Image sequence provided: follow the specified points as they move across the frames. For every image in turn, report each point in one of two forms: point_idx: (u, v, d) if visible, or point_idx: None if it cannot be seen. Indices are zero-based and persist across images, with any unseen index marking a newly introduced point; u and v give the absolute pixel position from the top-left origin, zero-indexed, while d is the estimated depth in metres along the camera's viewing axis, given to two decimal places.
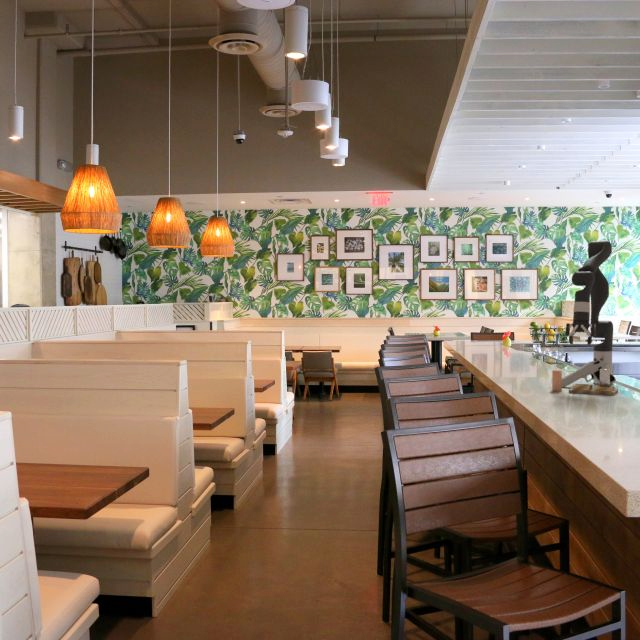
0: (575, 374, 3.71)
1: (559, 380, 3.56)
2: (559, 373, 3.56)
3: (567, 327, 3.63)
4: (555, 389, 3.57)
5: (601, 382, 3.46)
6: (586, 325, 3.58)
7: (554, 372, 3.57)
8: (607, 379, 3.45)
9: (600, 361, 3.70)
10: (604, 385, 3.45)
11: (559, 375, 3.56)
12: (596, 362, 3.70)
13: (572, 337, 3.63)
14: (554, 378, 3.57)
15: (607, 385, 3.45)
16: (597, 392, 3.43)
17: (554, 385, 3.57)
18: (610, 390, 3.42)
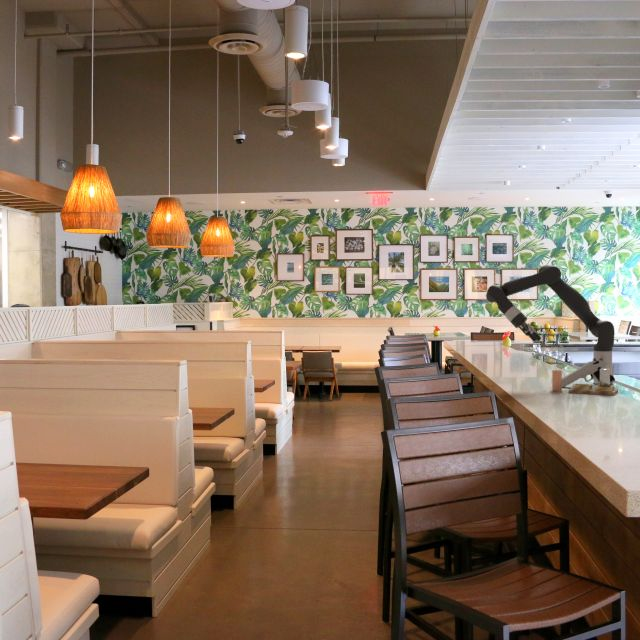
0: (574, 374, 3.71)
1: (559, 380, 3.56)
2: (559, 373, 3.56)
3: None
4: (555, 389, 3.57)
5: (601, 382, 3.46)
6: None
7: (554, 372, 3.57)
8: (607, 379, 3.45)
9: (599, 361, 3.70)
10: (604, 385, 3.45)
11: (559, 375, 3.56)
12: (595, 362, 3.70)
13: (535, 334, 3.74)
14: (554, 378, 3.57)
15: (607, 385, 3.45)
16: (597, 392, 3.43)
17: (554, 385, 3.57)
18: (610, 390, 3.42)
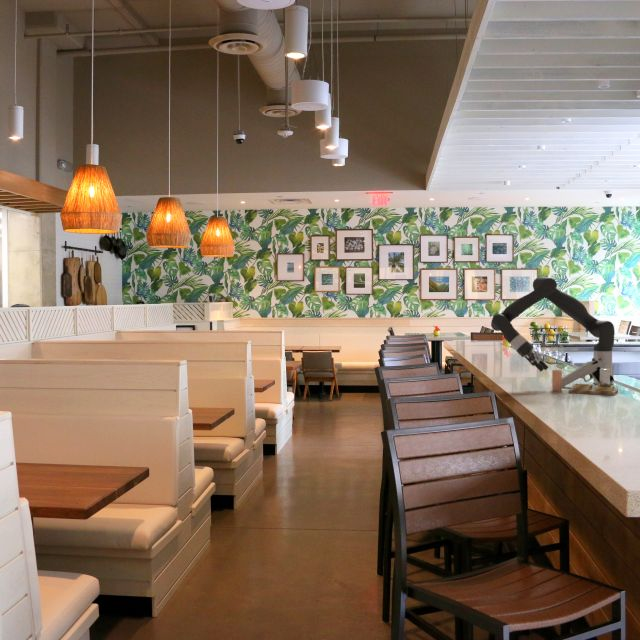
0: (573, 374, 3.71)
1: (559, 380, 3.56)
2: (559, 373, 3.56)
3: None
4: (555, 389, 3.57)
5: (601, 382, 3.46)
6: None
7: (554, 372, 3.57)
8: (607, 379, 3.45)
9: (598, 361, 3.70)
10: (604, 385, 3.45)
11: (559, 375, 3.56)
12: (594, 362, 3.70)
13: (541, 363, 3.66)
14: (554, 378, 3.57)
15: (607, 385, 3.45)
16: (597, 392, 3.43)
17: (554, 385, 3.57)
18: (610, 390, 3.42)
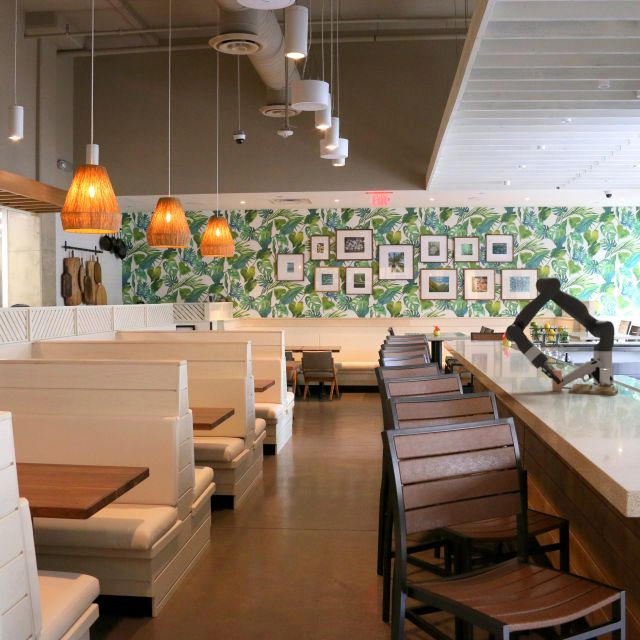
0: (572, 374, 3.71)
1: None
2: (559, 373, 3.56)
3: None
4: (555, 389, 3.57)
5: (601, 382, 3.46)
6: None
7: (554, 372, 3.57)
8: (607, 379, 3.45)
9: (597, 361, 3.70)
10: (604, 385, 3.45)
11: (559, 375, 3.56)
12: (593, 362, 3.70)
13: None
14: None
15: (607, 385, 3.45)
16: (597, 392, 3.43)
17: (554, 385, 3.57)
18: (610, 390, 3.42)
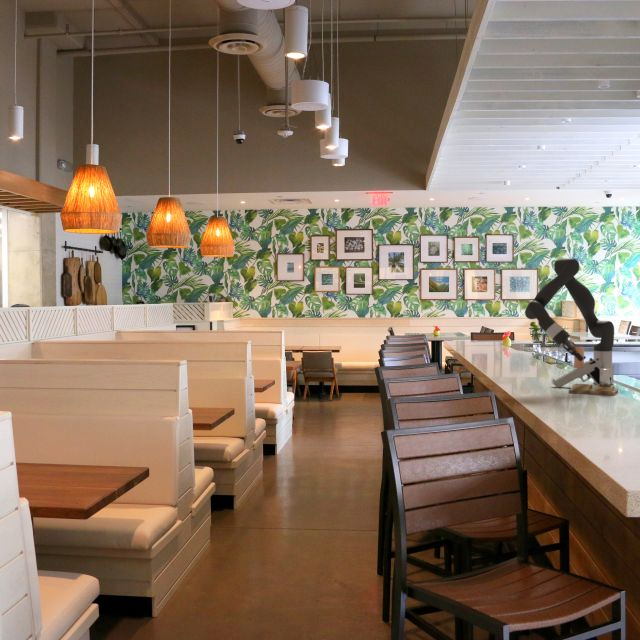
0: (571, 374, 3.72)
1: None
2: (581, 350, 3.51)
3: None
4: (577, 366, 3.52)
5: (601, 382, 3.46)
6: None
7: (576, 349, 3.52)
8: (607, 379, 3.45)
9: (596, 361, 3.70)
10: (604, 385, 3.45)
11: (581, 352, 3.51)
12: (592, 362, 3.70)
13: None
14: None
15: (607, 385, 3.45)
16: (597, 392, 3.43)
17: (576, 362, 3.52)
18: (610, 390, 3.42)
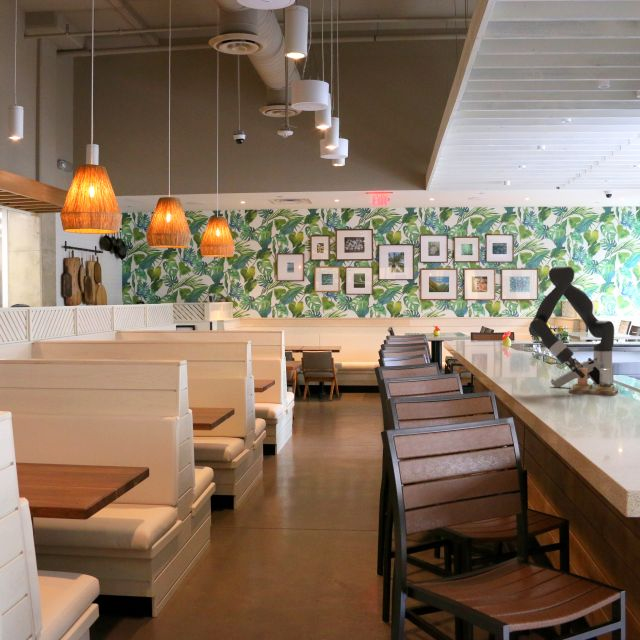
0: (570, 374, 3.72)
1: (585, 378, 3.50)
2: (585, 371, 3.50)
3: None
4: None
5: (601, 382, 3.46)
6: None
7: None
8: (607, 379, 3.45)
9: (595, 361, 3.71)
10: (604, 385, 3.45)
11: (585, 373, 3.50)
12: (591, 362, 3.71)
13: None
14: None
15: (607, 385, 3.45)
16: (597, 392, 3.43)
17: (580, 383, 3.51)
18: (610, 390, 3.42)
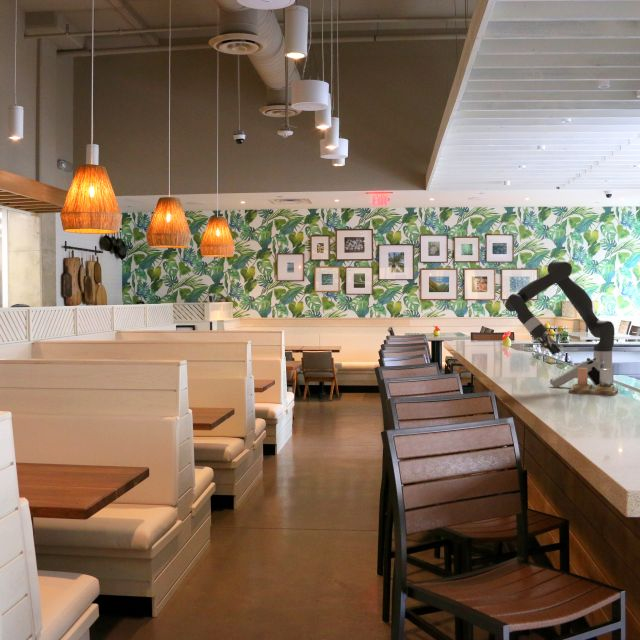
0: (569, 374, 3.72)
1: (585, 378, 3.50)
2: (585, 371, 3.50)
3: None
4: None
5: (601, 382, 3.46)
6: None
7: (580, 370, 3.51)
8: (607, 379, 3.45)
9: (593, 361, 3.71)
10: (604, 385, 3.45)
11: (585, 373, 3.50)
12: (589, 362, 3.71)
13: (554, 346, 3.65)
14: (580, 376, 3.51)
15: (607, 385, 3.45)
16: (597, 392, 3.43)
17: (580, 383, 3.51)
18: (610, 390, 3.42)
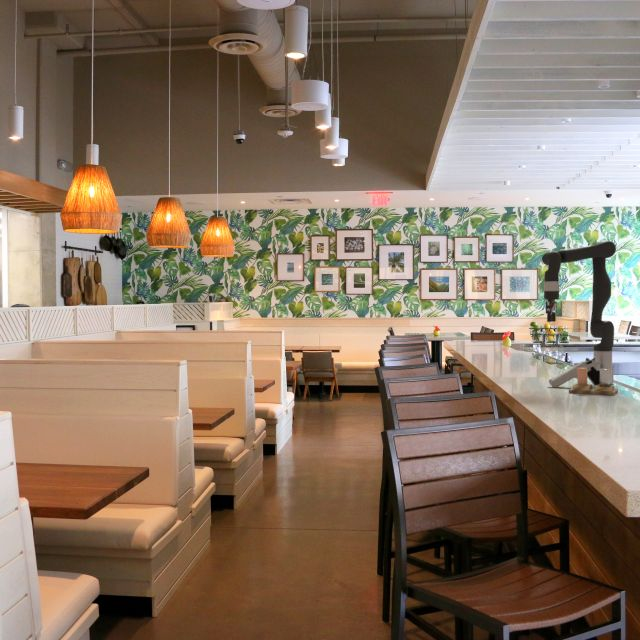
0: (568, 374, 3.72)
1: (585, 378, 3.50)
2: (585, 371, 3.50)
3: None
4: None
5: (601, 382, 3.46)
6: None
7: (579, 370, 3.51)
8: (607, 379, 3.45)
9: (592, 361, 3.71)
10: (604, 385, 3.45)
11: (585, 373, 3.50)
12: (588, 362, 3.71)
13: (553, 314, 3.84)
14: (579, 376, 3.51)
15: (607, 385, 3.45)
16: (597, 392, 3.43)
17: (580, 383, 3.51)
18: (610, 390, 3.42)
